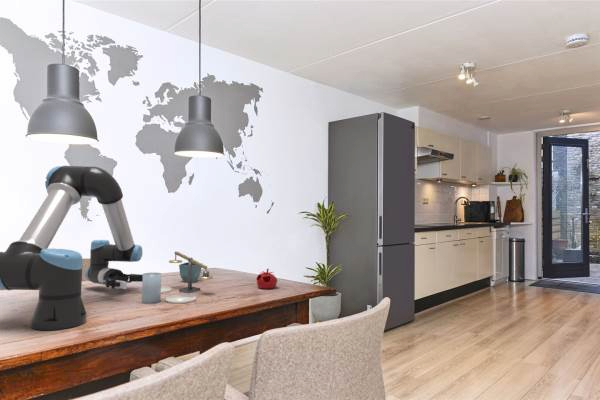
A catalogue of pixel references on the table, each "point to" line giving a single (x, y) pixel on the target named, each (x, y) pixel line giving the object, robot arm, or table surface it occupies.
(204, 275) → the balance
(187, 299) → the dish low
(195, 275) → the flower pot
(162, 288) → the dish high
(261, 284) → the pomegranate
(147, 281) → the cup
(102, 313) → the table surface
